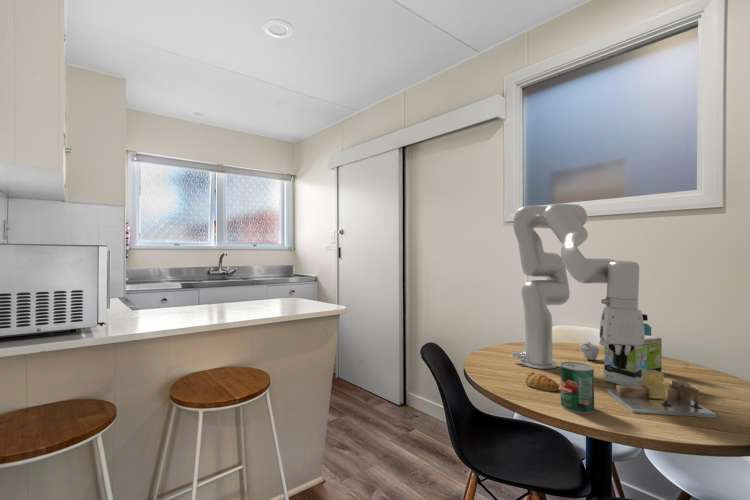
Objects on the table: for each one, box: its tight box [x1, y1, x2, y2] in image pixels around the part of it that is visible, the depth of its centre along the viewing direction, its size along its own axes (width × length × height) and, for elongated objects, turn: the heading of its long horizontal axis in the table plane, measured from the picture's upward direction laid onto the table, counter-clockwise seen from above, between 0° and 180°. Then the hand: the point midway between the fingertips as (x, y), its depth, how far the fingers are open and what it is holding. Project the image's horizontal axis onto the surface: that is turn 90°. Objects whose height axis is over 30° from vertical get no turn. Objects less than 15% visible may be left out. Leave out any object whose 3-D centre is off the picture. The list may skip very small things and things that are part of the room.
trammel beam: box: [615, 379, 700, 407], centre depth 101 cm, size 17×8×4 cm, turn 81°
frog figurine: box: [579, 341, 600, 361], centre depth 146 cm, size 6×7×7 cm
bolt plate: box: [607, 389, 718, 419], centre depth 100 cm, size 19×14×1 cm
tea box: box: [603, 335, 663, 387], centre depth 120 cm, size 15×10×15 cm, turn 117°
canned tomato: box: [559, 361, 595, 415], centre depth 98 cm, size 8×8×11 cm
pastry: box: [524, 371, 560, 392], centre depth 114 cm, size 9×7×4 cm
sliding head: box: [642, 370, 670, 404], centre depth 101 cm, size 4×8×7 cm, turn 171°
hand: (619, 367), depth 106 cm, fingers closed
